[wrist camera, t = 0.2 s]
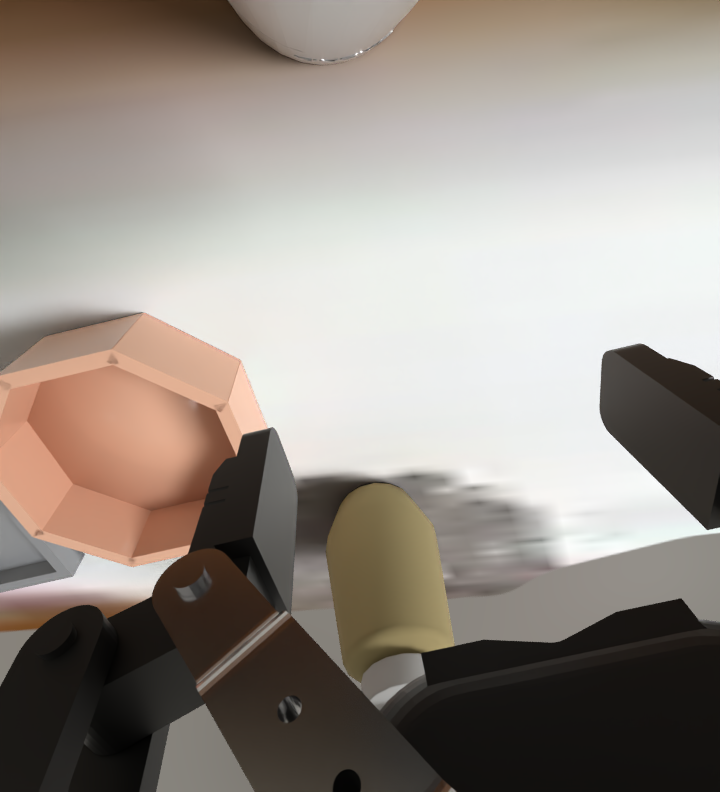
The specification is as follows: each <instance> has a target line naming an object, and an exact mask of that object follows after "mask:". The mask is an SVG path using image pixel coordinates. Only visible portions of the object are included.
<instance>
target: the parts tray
mask: <svg viewBox="0 0 720 792" xmlns="http://www.w3.org/2000/svg"><path fill="white" fill-rule="evenodd" d="M83 557H84V553H83V552H81V551H77V550H74V549H70V548H67V547H64V546H60V545H57V544H54V543H50V542H47V541H44V540H40V539H37V538H34V537H32V536H31V535H30V534H29V533H28V531H27V530H26V529H25V528H24V527H23V526H22V524H21V523H20V522H19V521H18V520H17V519H16V517H15V516H14V515H13V514H12V513H11V512H10V510H9V509H8V508H7V507H6V506H5V505H4V504H3V502H2V501H1V500H0V593H1V592H5V591H10V590H14V589H19V588H23V587H28V586H32V585H37V584H41V583H46V582H50V581H55V580H59V579H64V578H68V577H73V576H74V574H75V572H76V570H77V568H78V566H79V564H80V563H81V561H82V559H83Z"/></svg>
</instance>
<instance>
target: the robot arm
mask: <svg viewBox="0 0 720 792" xmlns="http://www.w3.org/2000/svg"><path fill="white" fill-rule="evenodd" d="M228 1H229V3H230V4H231V6H232V7H233V8H234V10H235V11H236V13H237V14H238V15H239V17H240V18H241V20H242V21H243V22H244V23H245V24H246V25H247V26H248V27H249V28H250V29H251V31H252V32H253V33H254V34H255V35H256V36H257V37H258V38H259V39H260V40H261V41H263V42H264V43H266V44H267V45H268V46H270V47H271V48H273V49H274V50H276V51H277V52H279V53H280V54H282V55H285V56H287V57H290V58H292V59H295V60H297V61H299V62H303V63H310V64H317V65H329V64H337V63H344V62H346V61H349V60H351V59H354V58H357V57H359V56H362V55H364V54H365V53H366V52H368V51H369V50H371V49H372V48H374V47H375V46H377V45H378V44H379V43H381V42H382V41H383V40H384V39H385V38H386V37H387V36H389V35H390V34H391V33H392V32H393V29H394V28H395V27H396V25H397V24H398V23H399V22H400V21H401V20H402V19H403V18H404V17H405V16H406V15H407V14H408V13H409V11H410V10H411V9H412V8H413V7H414V6H415V4H416V3H417V2H418V1H419V0H228ZM600 414H601V418H602V421H603V423H604V426H605V427H606V429H607V430H608V432H609V433H610V434H611V435H612V436H613V437H614V438H615V439H616V440H617V441H618V442H619V443H620V444H621V445H622V446H623V447H624V448H625V449H626V450H627V451H628V452H629V453H630V454H631V455H632V456H633V457H634V458H635V459H636V460H637V461H638V462H639V463H640V464H641V465H642V466H643V467H644V468H645V469H646V470H647V471H648V472H649V473H650V474H651V475H652V476H653V477H654V478H655V479H656V480H657V481H659V482H660V483H661V484H662V485H663V486H664V487H665V488H666V489H667V490H668V491H669V492H670V493H671V494H672V495H673V496H674V497H675V498H676V499H677V500H678V501H679V502H680V503H681V504H682V505H683V506H684V507H685V508H686V509H687V510H688V511H689V512H690V513H691V514H692V515H693V516H694V517H695V518H696V519H697V520H698V521H699V522H700V523H701V524H702V525H703V526H704V527H705V528H706V529H707V530H710V529H714V528H719V527H720V380H718V379H715V380H714V377H713V376H711V375H710V374H708V373H706V372H705V371H703V370H701V369H699V368H698V367H696V366H694V365H691V364H687V363H684V362H681V361H677V360H674V359H671V358H668V359H667V358H665V357H664V356H662V355H661V354H659V353H657V352H656V351H654V350H652V349H651V348H649V347H648V346H646V345H644V344H635V345H631V346H627V347H622V348H618V349H614V350H609V351H607V352H605V354H604V355H603V358H602V368H601V389H600ZM297 503H298V497H297V489H296V484H295V480H294V476H293V474H292V471H291V468H290V465H289V463H288V460H287V457H286V455H285V452H284V449H283V447H282V444H281V441H280V439H279V436H278V434H277V432H276V430H275V429H274V428H273V427H272V428H268V429H263V430H259V431H255V432H250V433H246V434H243V435H242V438H241V441H240V445H239V449H238V453H237V456H236V457H232V458H227V459H225V460H224V462H223V463H222V464H221V465H220V467H219V468H218V469H217V470H216V471H215V473H214V474H213V476H212V479H211V483H210V486H209V489H208V493H207V495H206V498H205V501H204V507H203V508H202V511H201V514H200V517H199V520H198V523H197V526H196V530H195V533H194V536H193V539H192V542H191V545H190V548H189V552H188V554H187V555H185V556H183V557H181V558H180V559H178V560H177V561H176V562H174V563H173V564H172V565H171V566H169V567H168V568H167V569H166V570H165V572H164V573H163V574H162V575H161V576H160V578H159V579H158V581H157V583H156V585H155V587H154V590H153V593H152V597H150V598H148V599H146V600H144V601H142V602H140V603H138V604H136V605H134V606H132V607H130V608H128V609H126V610H124V611H122V612H120V613H118V614H116V615H114V616H112V617H110V618H106V617H105V616H104V615H103V613H102V612H101V611H100V610H99V609H98V608H97V607H95V606H91V605H81V606H76V607H73V608H70V609H68V610H66V611H63V612H61V613H60V614H58V615H56V616H54V617H53V618H52V619H50V620H49V621H47V622H46V623H45V624H43V625H42V626H41V627H40V628H39V629H38V630H37V631H36V632H34V634H33V635H32V636H31V637H30V638H29V639H28V640H27V641H26V643H25V644H24V645H23V647H22V648H21V650H20V651H19V653H18V655H17V656H16V658H15V660H14V662H13V664H12V666H11V668H10V669H9V671H8V673H7V675H6V677H5V679H4V681H3V682H2V684H1V686H0V792H156V789H157V784H158V779H159V774H160V769H161V765H162V759H163V754H164V750H165V745H166V740H167V735H168V731H169V726H170V723H172V722H173V721H175V720H177V719H179V718H180V717H182V716H184V715H186V714H187V713H189V712H191V711H193V710H194V709H196V708H198V707H200V706H201V705H203V704H206V706H207V708H208V710H209V711H210V713H211V715H212V717H213V718H214V721H215V722H216V724H217V726H218V728H219V730H220V731H221V733H222V735H223V737H224V738H225V740H226V742H227V744H228V745H229V747H230V749H231V751H232V753H233V754H234V756H235V758H236V760H237V761H238V763H239V765H240V767H241V769H242V770H243V772H244V774H245V776H246V778H247V779H248V781H249V783H250V785H251V786H252V788H253V790H254V792H720V622H716V621H709V620H698V619H697V618H696V616H695V615H694V614H693V612H692V611H691V610H690V609H689V608H688V606H687V605H686V604H685V602H684V601H683V600H682V599H676V600H672V601H666V602H662V603H657V604H653V605H648V606H643V607H638V608H633V609H628V610H624V611H619V612H615V613H614V614H612V615H610V616H608V617H606V618H604V619H602V620H600V621H598V622H597V623H595V624H593V625H591V626H589V627H587V628H585V629H583V630H582V631H580V632H578V633H576V634H574V635H572V636H570V637H568V638H567V639H565V640H562V641H560V642H555V643H544V642H522V641H499V640H481V641H476V642H472V643H466V644H462V645H457V646H452V647H447V648H443V649H438V650H433V651H428V652H423V653H421V657H422V661H423V666H424V671H425V674H424V675H422V676H420V677H418V678H416V679H414V680H413V681H411V682H410V683H408V684H407V685H406V686H404V687H403V688H402V689H400V690H399V691H398V692H397V693H396V694H395V695H394V696H392V697H391V698H390V699H389V700H388V701H387V702H386V703H385V705H384V706H383V707H382V708H381V709H380V711H379V710H378V709H377V708H376V706H375V705H374V704H373V703H372V702H371V701H370V700H369V699H368V698H367V697H366V696H365V695H364V694H363V692H362V691H361V690H360V689H359V688H358V687H357V686H356V685H355V684H354V683H353V682H352V681H351V680H350V678H349V677H348V676H347V675H346V674H345V673H344V672H343V671H342V670H341V669H340V668H339V666H338V665H337V664H336V663H335V662H334V661H333V660H332V659H331V658H330V657H329V656H328V655H327V653H326V652H325V651H324V650H323V649H322V648H321V647H320V646H319V645H318V644H317V643H316V642H315V641H314V639H313V638H312V637H311V636H310V635H309V634H308V633H307V632H306V631H305V630H304V629H303V628H302V626H300V624H299V623H298V622H297V621H296V620H295V619H294V618H293V617H292V616H291V606H292V589H293V572H294V555H295V537H296V520H297Z"/></svg>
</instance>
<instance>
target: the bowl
mask: <svg viewBox="0 0 720 792" xmlns="http://www.w3.org/2000/svg"><path fill="white" fill-rule="evenodd" d="M263 429H268V428H267V426H266V423H265V421H264V418H263V416H262V413H261V410H260V408H259V405H258V403H257V400H256V398H255V395H254V393H253V390H252V388H251V385H250V383H249V380H248V377H247V375H246V372H245V370H244V367H243V365H242V362H241V361H240V360H239V359H237V358H235V357H233V356H231V355H229V354H227V353H225V352H223V351H221V350H219V349H217V348H215V347H213V346H211V345H209V344H207V343H205V342H203V341H201V340H199V339H197V338H195V337H193V336H191V335H189V334H187V333H185V332H182V331H180V330H178V329H176V328H174V327H172V326H170V325H168V324H166V323H164V322H162V321H160V320H158V319H156V318H154V317H152V316H150V315H148V314H146V313H140V314H136V315H132V316H128V317H123V318H119V319H115V320H111V321H107V322H103V323H98V324H94V325H90V326H86V327H82V328H78V329H73V330H69V331H65V332H61V333H57V334H53V335H48V336H45V337H44V338H42V339H41V340H40V341H39V342H37V343H36V344H35V345H34V346H32V347H31V348H30V349H29V350H27V351H26V352H25V353H24V354H22V355H21V356H20V357H19V358H17V359H16V360H15V361H14V362H12V363H11V364H10V365H9V366H7V367H6V368H5V369H4V370H2V371H1V372H0V500H1V501H2V502H3V504H4V505H5V506H6V507H7V508H8V509H9V510H10V512H11V513H12V514H13V515H14V516H15V517H16V519H17V520H18V521H19V522H20V523H21V524H22V526H23V527H24V528H25V529H26V530H27V531H28V533H29V534H30V535H31V536H32V537H34V538H37V539H40V540H44V541H47V542H50V543H54V544H57V545H60V546H64V547H67V548H70V549H74V550H77V551H81V552H84V553H87V554H91V555H94V556H97V557H101V558H104V559H107V560H111V561H114V562H117V563H121V564H124V565H127V566H131V567H134V566H139V565H144V564H148V563H153V562H157V561H162V560H166V559H171V558H175V557H180V556H184V555H187V554H188V552H189V548H190V545H191V542H192V539H193V536H194V533H195V530H196V526H197V523H198V520H199V517H200V514H201V511H202V508H203V507H204V501H205V498H206V495H207V493H208V489H209V486H210V483H211V479H212V476H213V474H214V473H215V471H216V470H217V469H218V468H219V467H220V465H221V464H222V463H223V462H224V460H225V459H227V458H232V457H236V456H237V453H238V449H239V445H240V441H241V438H242V435H243V434H246V433H250V432H255V431H259V430H263Z"/></svg>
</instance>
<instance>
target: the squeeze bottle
mask: <svg viewBox="0 0 720 792" xmlns="http://www.w3.org/2000/svg"><path fill="white" fill-rule="evenodd" d="M326 557H327V564H328V570H329V577H330V583H331V589H332V596H333V602H334V609H335V615H336V621H337V628H338V634H339V641H340V647H341V653H342V660H343V665H344V667H345V668H346V670H347V672H348V674H349V676H351V677H352V678H354V679H355V680H357V681H359V682H360V683H361V688H362V692H363V694H364V695H365V696H366V697H367V698H368V699H369V700H370V701H371V702H372V703H373V704H374V705H375V706H376V708H377V709H378V710H379V711H380V709H381V708H382V707H383V706H384V705H385V703H386V702H387V701H388V700H389V699H390V698H391V697H392V696H394V695H395V694H396V693H397V692H398V691H399V690H400V689H402V688H403V687H404V686H406V685H407V684H408V683H410V682H411V681H413V680H414V679H416V678H418V677H420V676H422V675H424V674H425V671H424V666H423V661H422V657H421V653H423V652H428V651H433V650H438V649H443V648H447V647H452V646H455V644H454V639H453V633H452V627H451V621H450V615H449V609H448V603H447V597H446V591H445V585H444V579H443V573H442V568H441V562H440V556H439V550H438V544H437V539H436V534H435V530H434V526H433V524H432V523H431V522H430V521H429V519H428V518H427V517H426V516H425V515H424V513H423V512H422V511H421V510H420V508H419V507H418V506H417V505H416V504H415V502H414V501H413V500H412V499H411V497H410V496H409V495H408V494H407V493H406V492H405V491H404V490H403V489H401V488H399V487H396V486H394V485H391V484H385V483H372V484H369V485H365V486H361V487H359V488H357V489H355V490H354V491H352V492H351V493H349V494H348V495H347V496H346V497H345V499H344V500H343V501H342V503H341V504H340V507H339V509H338V512H337V514H336V517H335V520H334V522H333V525H332V527H331V530H330V532H329V535H328V539H327V546H326Z"/></svg>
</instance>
